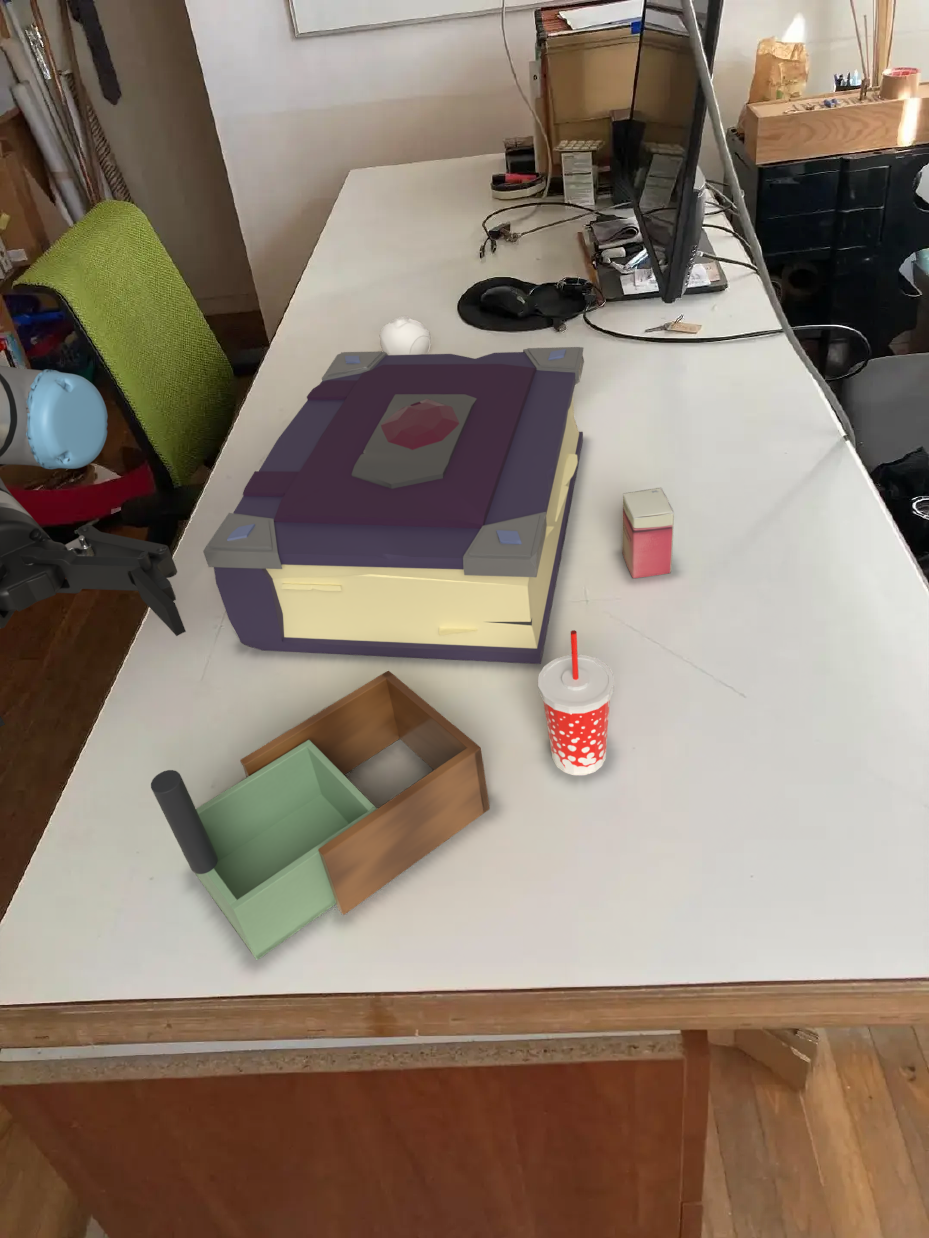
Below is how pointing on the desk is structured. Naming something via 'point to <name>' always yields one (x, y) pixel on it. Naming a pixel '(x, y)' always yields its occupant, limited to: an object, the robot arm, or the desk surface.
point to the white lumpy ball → (405, 337)
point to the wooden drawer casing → (411, 816)
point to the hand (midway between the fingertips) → (88, 664)
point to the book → (410, 510)
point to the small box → (647, 532)
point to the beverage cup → (577, 709)
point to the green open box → (266, 841)
